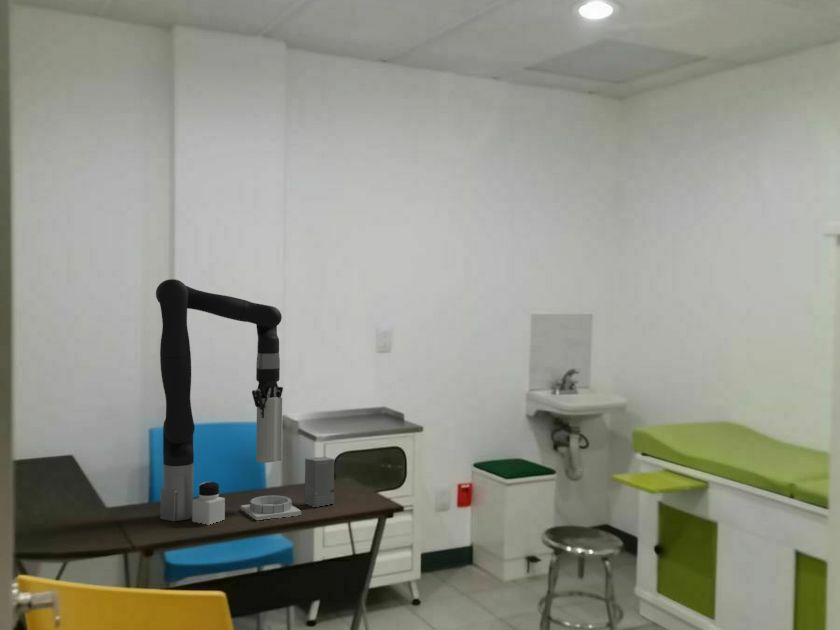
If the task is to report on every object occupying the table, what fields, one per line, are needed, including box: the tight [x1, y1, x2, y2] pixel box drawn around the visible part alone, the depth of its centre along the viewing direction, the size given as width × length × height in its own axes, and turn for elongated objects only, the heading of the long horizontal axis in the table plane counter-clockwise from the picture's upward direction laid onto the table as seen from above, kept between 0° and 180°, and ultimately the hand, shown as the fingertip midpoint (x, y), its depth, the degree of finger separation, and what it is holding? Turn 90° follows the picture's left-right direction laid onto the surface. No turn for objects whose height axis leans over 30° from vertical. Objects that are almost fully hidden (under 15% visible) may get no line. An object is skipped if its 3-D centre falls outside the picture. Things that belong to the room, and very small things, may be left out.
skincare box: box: [304, 456, 335, 508], centre depth 281 cm, size 8×7×16 cm
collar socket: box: [240, 495, 302, 521], centre depth 270 cm, size 15×15×4 cm
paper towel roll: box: [255, 397, 283, 464], centre depth 273 cm, size 7×6×21 cm
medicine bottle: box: [191, 481, 226, 526], centre depth 259 cm, size 7×7×12 cm
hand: (267, 418), depth 273 cm, fingers closed on paper towel roll, 3 cm apart
